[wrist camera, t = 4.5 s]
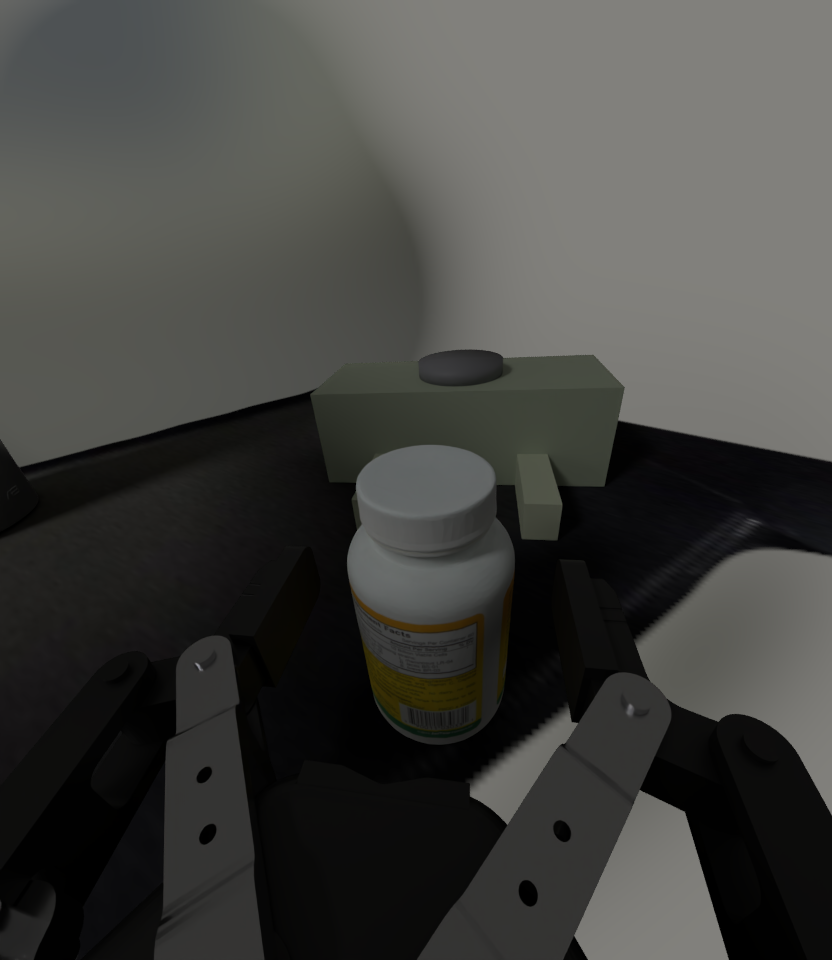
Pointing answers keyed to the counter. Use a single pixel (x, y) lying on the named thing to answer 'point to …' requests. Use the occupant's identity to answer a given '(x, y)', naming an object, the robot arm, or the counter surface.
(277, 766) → the counter surface
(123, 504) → the counter surface
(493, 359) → the olive footed block
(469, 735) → the supplement bottle
